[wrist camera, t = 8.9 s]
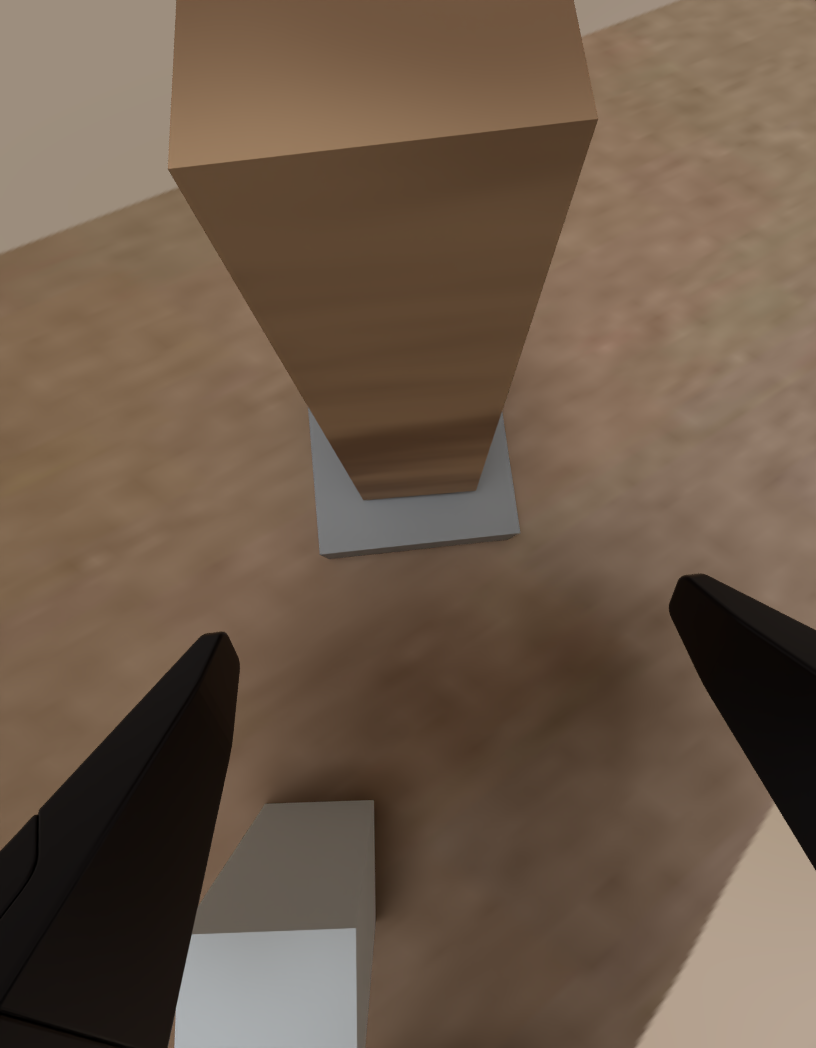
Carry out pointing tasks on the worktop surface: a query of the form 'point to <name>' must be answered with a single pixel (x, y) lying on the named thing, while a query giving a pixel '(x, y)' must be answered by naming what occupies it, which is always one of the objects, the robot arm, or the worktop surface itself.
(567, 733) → the worktop surface
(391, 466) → the walnut post
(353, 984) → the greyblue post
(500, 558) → the worktop surface
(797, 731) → the robot arm
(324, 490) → the greyblue square slab
